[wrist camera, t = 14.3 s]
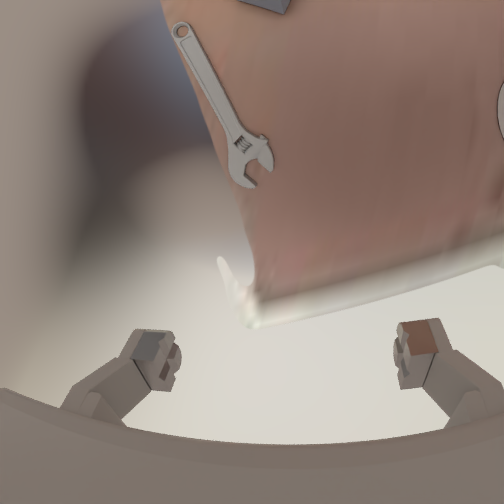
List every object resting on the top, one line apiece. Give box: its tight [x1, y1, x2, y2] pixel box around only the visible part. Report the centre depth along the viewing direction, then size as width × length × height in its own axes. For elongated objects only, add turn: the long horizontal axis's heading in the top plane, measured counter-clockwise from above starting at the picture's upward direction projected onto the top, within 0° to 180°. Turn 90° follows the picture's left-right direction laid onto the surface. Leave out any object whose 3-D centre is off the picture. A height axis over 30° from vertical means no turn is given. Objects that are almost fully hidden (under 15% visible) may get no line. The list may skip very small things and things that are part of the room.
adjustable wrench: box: [171, 22, 274, 189], centre depth 38 cm, size 25×6×2 cm, turn 21°
